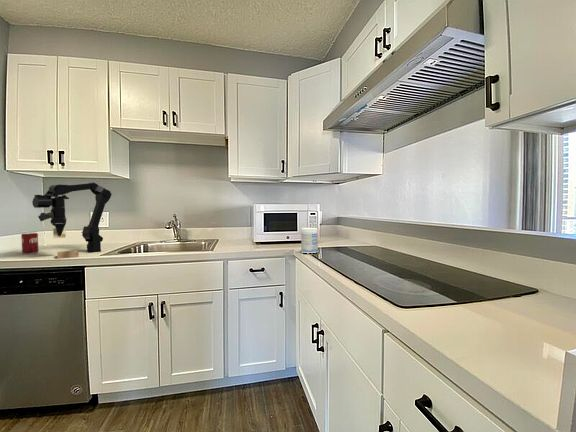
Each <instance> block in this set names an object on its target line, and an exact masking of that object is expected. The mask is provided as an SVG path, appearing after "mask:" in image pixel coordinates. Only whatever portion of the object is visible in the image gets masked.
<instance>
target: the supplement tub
mask: <svg viewBox="0 0 576 432" xmlns="http://www.w3.org/2000/svg"><path fill="white" fill-rule="evenodd" d="M318 231H319V230H318V227H317V228H316V227H302V228H301V237H300V238H301V239H300V240H301V241H300V243H301V246H300V247H301V249H300V250H301V254H303V253H316V252H317V253H318V248H319V246H318V242H319V239H318V238H319V237H318V236H319V235H318V234H319V232H318Z"/></svg>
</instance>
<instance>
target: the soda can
mask: <svg viewBox="0 0 576 432" xmlns="http://www.w3.org/2000/svg"><path fill="white" fill-rule="evenodd" d="M20 235H21V253H22V254H23V255H31V254H33V253H34V254H38V253H39V250H40V249H39V233H38V232H26V233H25V232H24V233H23V232H22V233H21V234H20ZM34 254H33V255H34Z"/></svg>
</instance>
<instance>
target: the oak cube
mask: <svg viewBox="0 0 576 432" xmlns="http://www.w3.org/2000/svg"><path fill="white" fill-rule="evenodd" d="M52 233H53V234H52V235H53V236H52V237H53V239H59V238H60V239H62V238H63V239H64V238H65V239H66V237H67V236H66V228H65V227H64V229H63V232H62V234H61V236H58V234H57V230H56V227H55V228H52Z"/></svg>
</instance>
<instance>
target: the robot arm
mask: <svg viewBox="0 0 576 432" xmlns="http://www.w3.org/2000/svg"><path fill="white" fill-rule="evenodd" d="M87 190H90V191H91V193H92V194H94V195H95V196H94V197H95V206H94V208H93V210H92V211H93V212H92V214H91V217H90V220H89V223H88V225H85V226H83V228H82V231H81V233H82V234H81V235H82V237H83V239H84V240H85V242H86V243H87V244H86V252H88V253H97V252H102V247H101V244H102V243H101V242H103V239H104V237H103V236H102V235H100V228H99V224H100V221H101V218H102V215H103V212H104V209H105V206H106V204H107V203H108V202H109V201H110V199H111V198H112V193H111V191H110V190H109V189H106V188H105V187H103V186H101V185H99V184H98V183H96V182H88V183H79V184H52V185H50V186H49V187H48V190H47V192H46V193H44V195H43V194H34V197H33V199H32V206H33V208H35V209H38V208H39V209H40V208H42V209H43V208H50V207H51V209H50V212H46V213H45V212H41V213H40V214H39V215H37V218H38V219H39V222H43V221H46V220H49V219H50V224H51V225H52V226H53V227H55V228H56V230H57V234H58V236H61V234H62V232H63V229H64V228H65V227H66V224H67V218H66V205H65V204H66V202H65V200H70V197H68V196H67V195H66V194H69V193H72V192H79V191H87Z"/></svg>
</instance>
